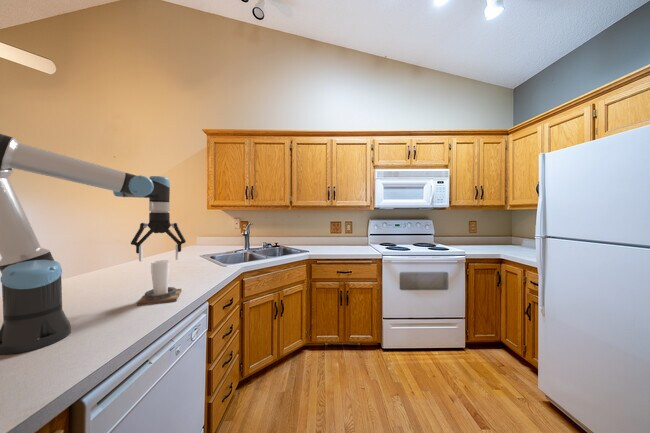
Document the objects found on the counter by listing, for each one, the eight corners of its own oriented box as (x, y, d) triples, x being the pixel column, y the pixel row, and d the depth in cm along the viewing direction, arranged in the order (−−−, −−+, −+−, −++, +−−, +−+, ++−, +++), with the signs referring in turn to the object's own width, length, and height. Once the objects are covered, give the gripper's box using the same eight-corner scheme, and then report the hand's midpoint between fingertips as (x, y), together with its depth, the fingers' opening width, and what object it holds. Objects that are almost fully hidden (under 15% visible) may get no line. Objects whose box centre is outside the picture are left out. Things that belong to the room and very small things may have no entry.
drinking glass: (153, 293, 114) (152, 260, 113) (170, 291, 117) (170, 259, 116) (150, 298, 108) (149, 264, 107) (168, 296, 111) (168, 262, 110)
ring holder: (176, 301, 108) (176, 294, 108) (137, 305, 103) (137, 298, 103) (181, 291, 121) (181, 284, 121) (146, 294, 116) (146, 288, 116)
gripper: (192, 212, 119) (192, 257, 120) (128, 211, 110) (128, 259, 110) (190, 212, 112) (190, 260, 113) (121, 211, 103) (121, 263, 103)
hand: (159, 260), depth 111 cm, fingers open, 13 cm apart
